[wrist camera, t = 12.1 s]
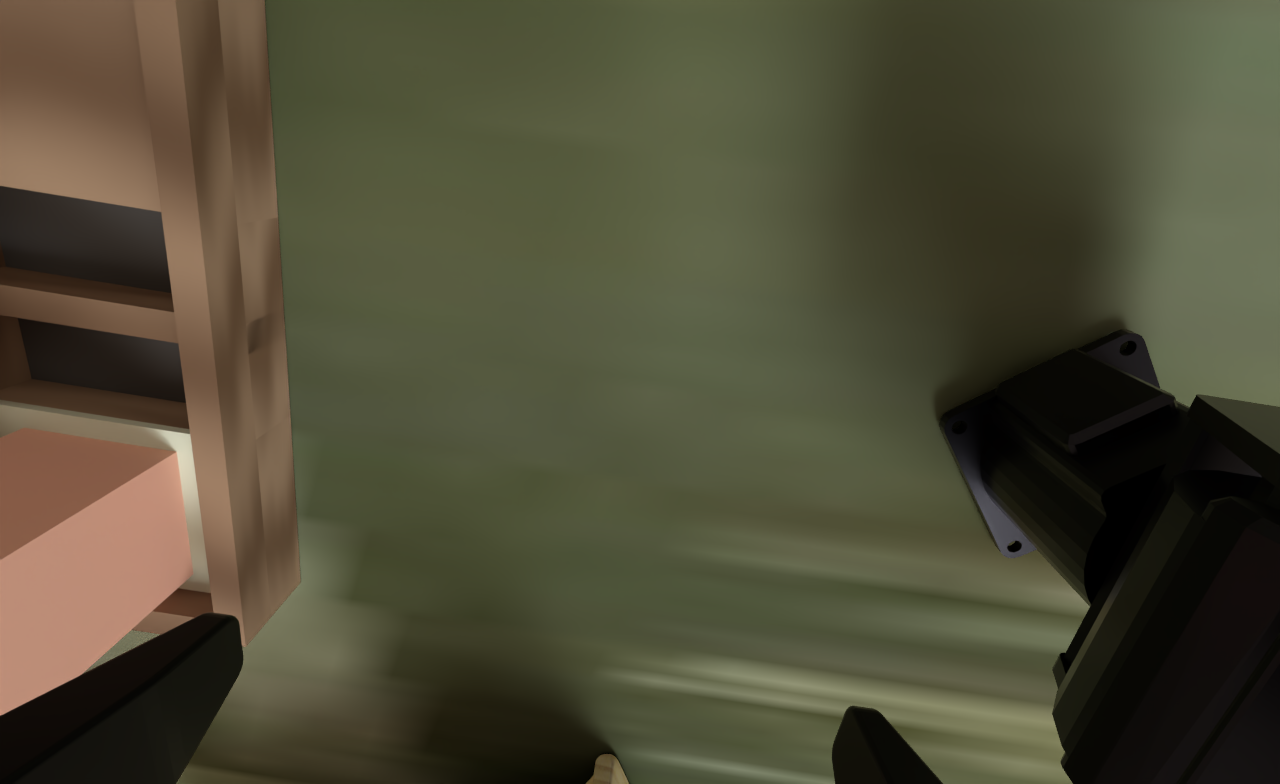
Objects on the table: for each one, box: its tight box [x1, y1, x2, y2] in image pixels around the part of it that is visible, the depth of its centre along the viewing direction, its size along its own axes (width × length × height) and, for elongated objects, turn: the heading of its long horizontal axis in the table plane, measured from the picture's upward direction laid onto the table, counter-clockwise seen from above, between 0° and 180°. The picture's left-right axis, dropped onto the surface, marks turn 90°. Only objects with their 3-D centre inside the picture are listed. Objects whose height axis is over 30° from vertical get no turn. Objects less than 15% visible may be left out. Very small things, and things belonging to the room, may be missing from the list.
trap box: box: [0, 0, 301, 647], centre depth 19 cm, size 22×10×4 cm, turn 171°
